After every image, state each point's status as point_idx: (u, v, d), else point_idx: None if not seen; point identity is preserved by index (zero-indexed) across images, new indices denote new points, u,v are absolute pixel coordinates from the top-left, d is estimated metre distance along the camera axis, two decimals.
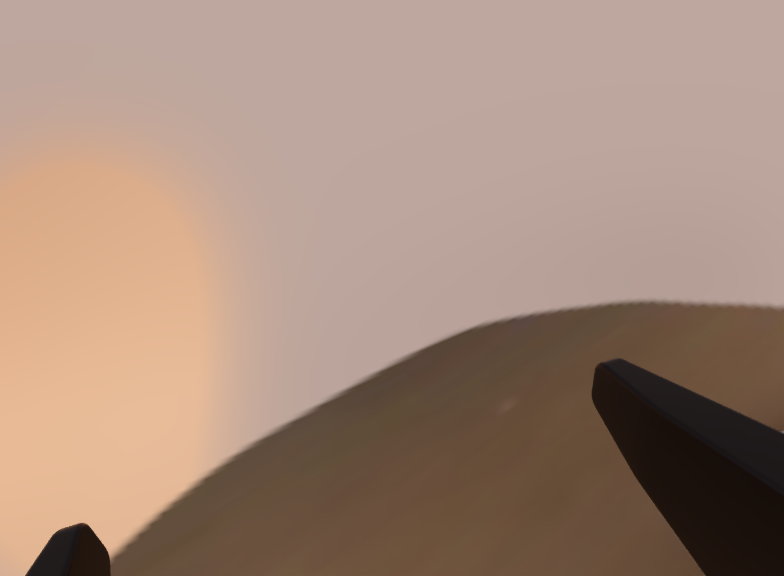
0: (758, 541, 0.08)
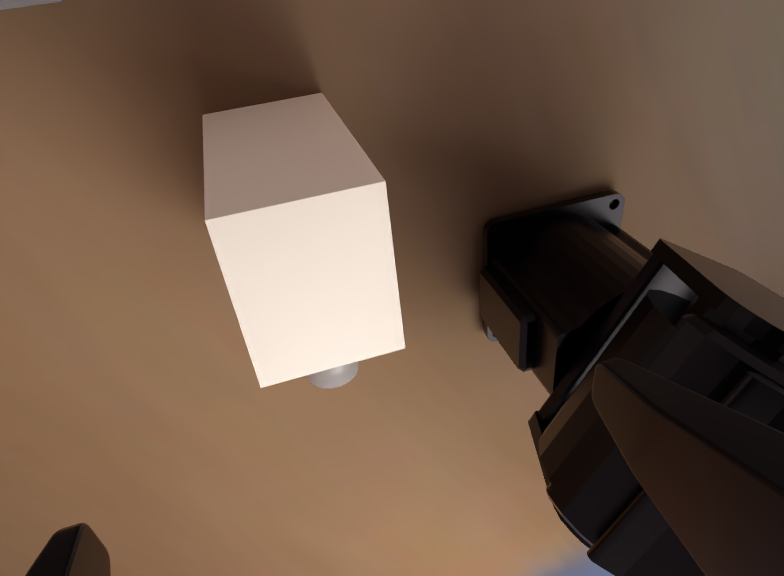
0: (758, 541, 0.08)
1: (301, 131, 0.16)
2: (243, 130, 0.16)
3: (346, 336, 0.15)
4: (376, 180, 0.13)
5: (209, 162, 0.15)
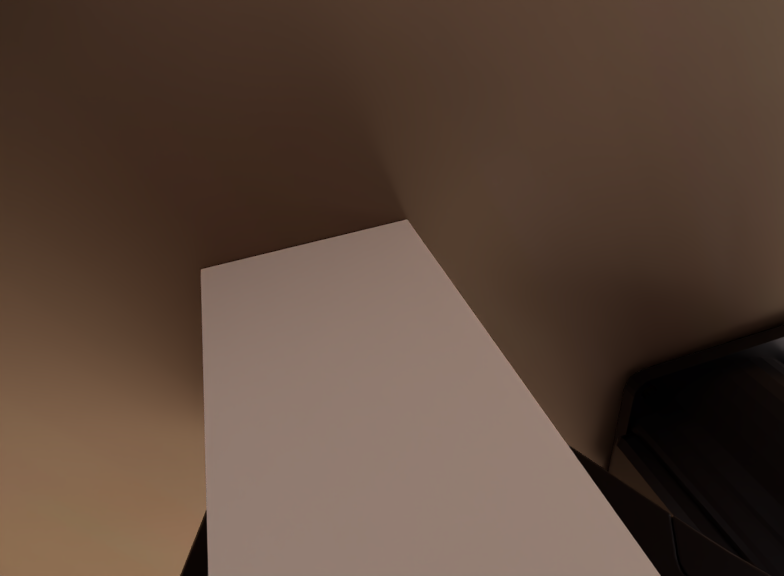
0: None
1: (400, 348, 0.08)
2: (280, 329, 0.08)
3: None
4: None
5: (218, 461, 0.07)
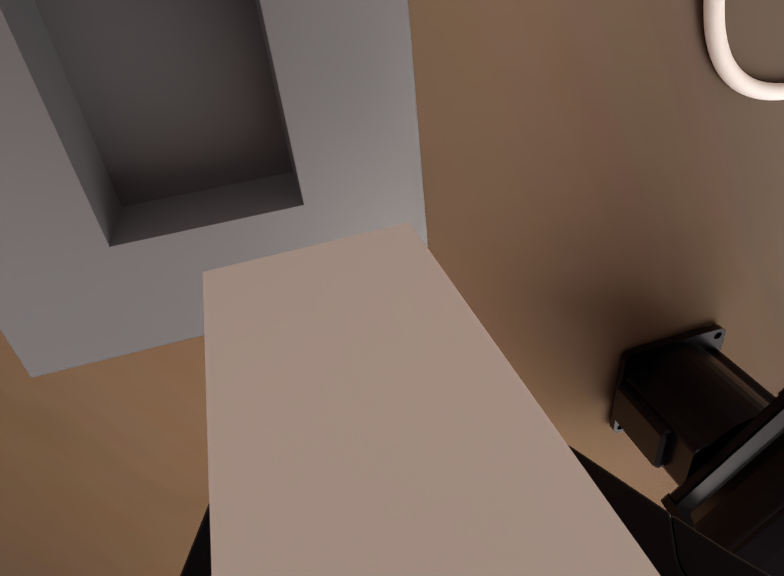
0: None
1: (402, 352, 0.08)
2: (282, 333, 0.08)
3: None
4: None
5: (221, 465, 0.07)
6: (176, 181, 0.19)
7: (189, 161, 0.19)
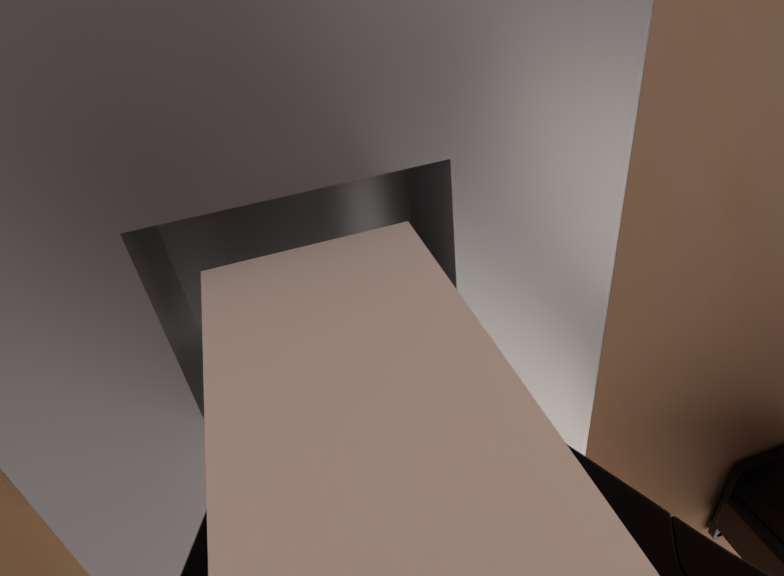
0: None
1: (401, 351, 0.08)
2: (280, 332, 0.08)
3: None
4: None
5: (218, 465, 0.07)
6: None
7: None
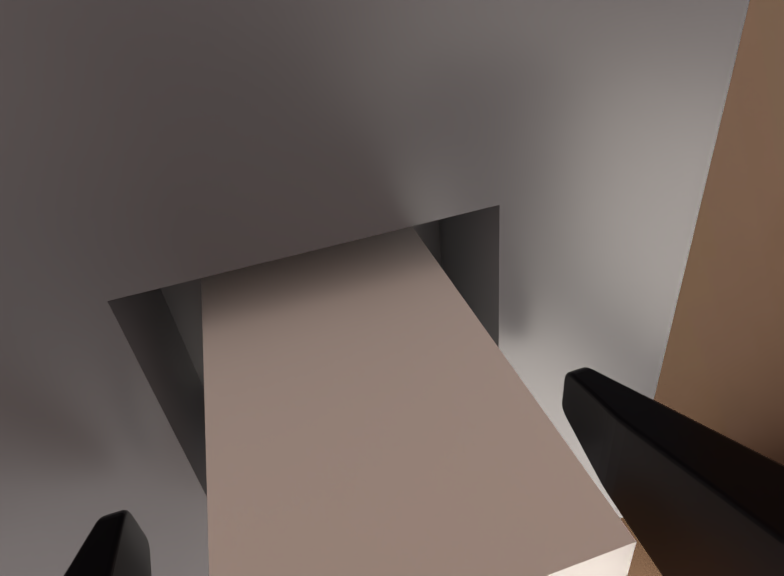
0: (719, 557, 0.07)
1: (381, 311, 0.09)
2: (273, 296, 0.09)
3: None
4: (611, 534, 0.05)
5: (216, 405, 0.07)
6: None
7: None
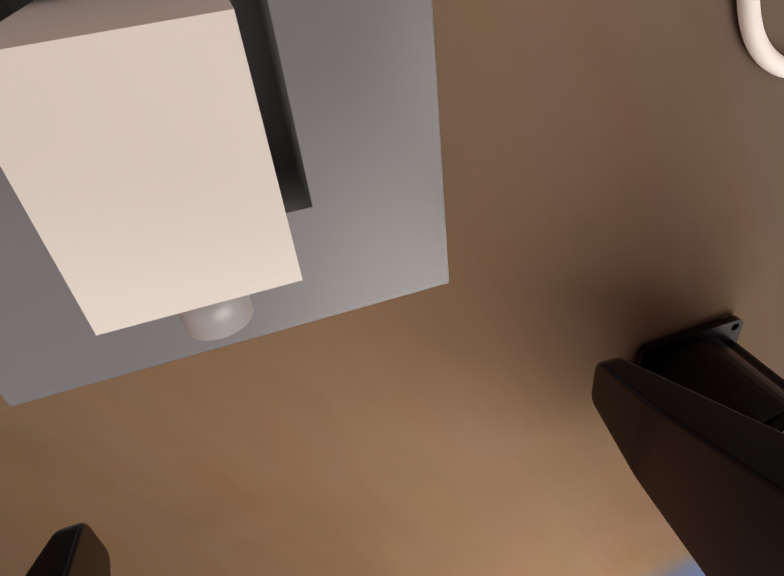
0: (758, 541, 0.08)
1: None
2: None
3: (212, 260, 0.10)
4: (221, 9, 0.08)
5: (11, 18, 0.10)
6: None
7: None
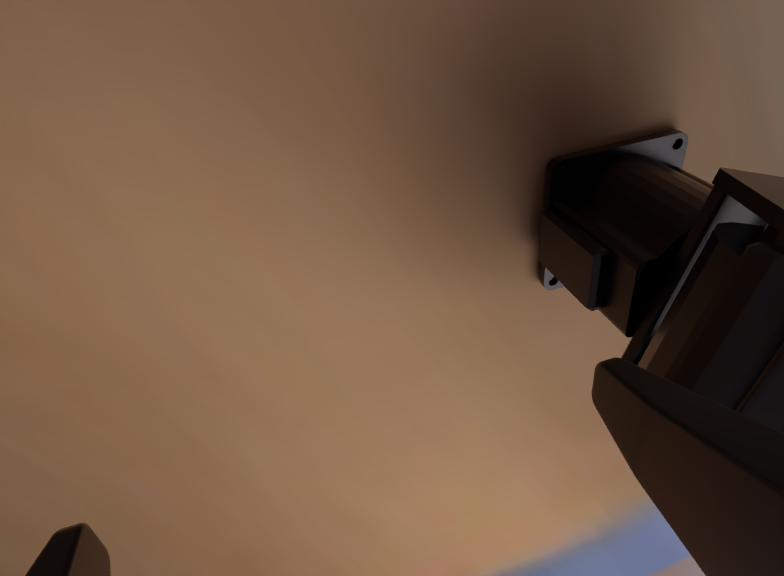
0: (758, 541, 0.08)
1: None
2: None
3: None
4: None
5: None
6: None
7: None
